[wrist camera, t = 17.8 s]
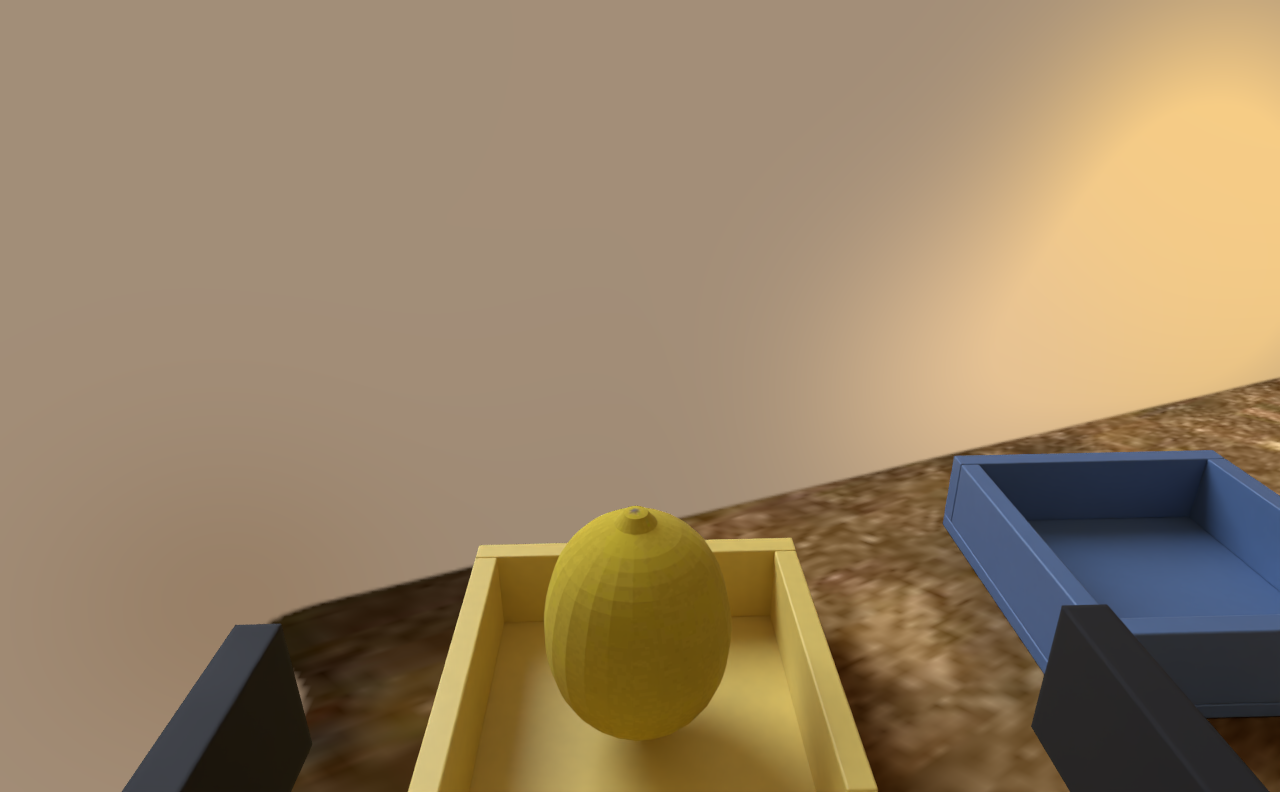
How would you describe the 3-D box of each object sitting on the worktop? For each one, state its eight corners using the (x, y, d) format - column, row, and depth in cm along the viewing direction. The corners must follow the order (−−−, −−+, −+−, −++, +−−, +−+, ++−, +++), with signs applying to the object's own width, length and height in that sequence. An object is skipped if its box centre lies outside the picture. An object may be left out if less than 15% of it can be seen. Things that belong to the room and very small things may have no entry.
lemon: (640, 639, 28) (637, 444, 25) (762, 724, 25) (777, 509, 21) (516, 725, 25) (494, 510, 22) (637, 838, 21) (633, 602, 18)
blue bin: (1426, 713, 25) (1473, 626, 24) (1075, 722, 25) (1100, 635, 24) (1190, 518, 36) (1212, 449, 35) (942, 524, 36) (953, 455, 34)
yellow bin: (872, 917, 20) (890, 819, 18) (415, 931, 20) (394, 833, 18) (785, 614, 30) (791, 537, 29) (488, 622, 30) (479, 544, 29)
